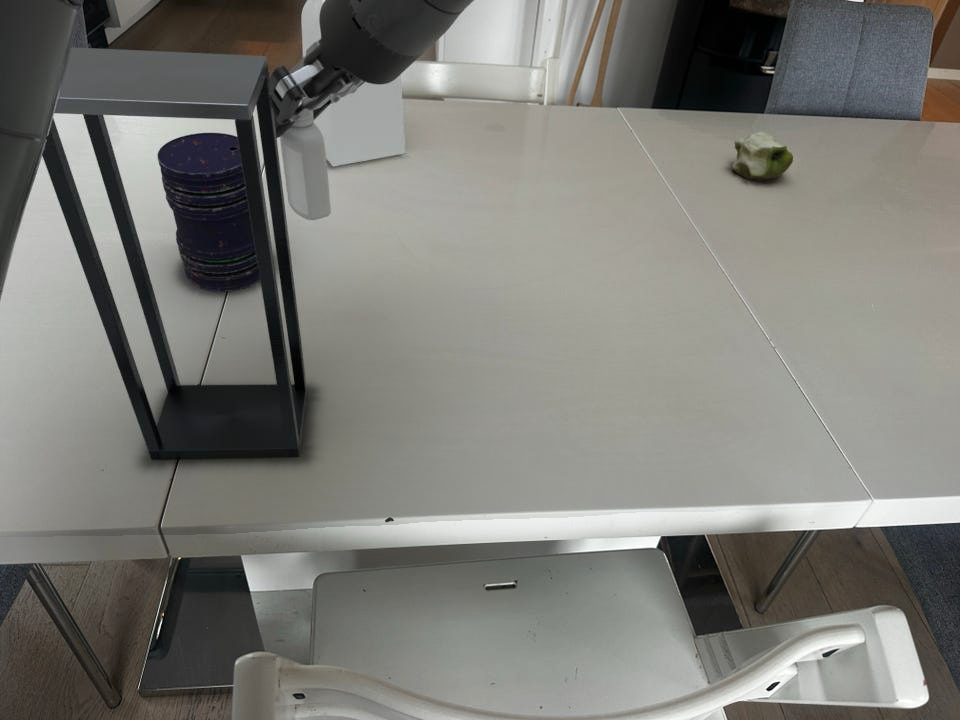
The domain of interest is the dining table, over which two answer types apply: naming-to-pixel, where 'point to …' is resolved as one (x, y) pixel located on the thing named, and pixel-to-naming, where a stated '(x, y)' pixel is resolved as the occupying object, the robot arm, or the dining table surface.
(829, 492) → the dining table surface
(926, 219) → the dining table surface
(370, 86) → the milk
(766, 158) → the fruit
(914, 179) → the dining table surface
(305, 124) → the eye dropper bottle
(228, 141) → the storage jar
